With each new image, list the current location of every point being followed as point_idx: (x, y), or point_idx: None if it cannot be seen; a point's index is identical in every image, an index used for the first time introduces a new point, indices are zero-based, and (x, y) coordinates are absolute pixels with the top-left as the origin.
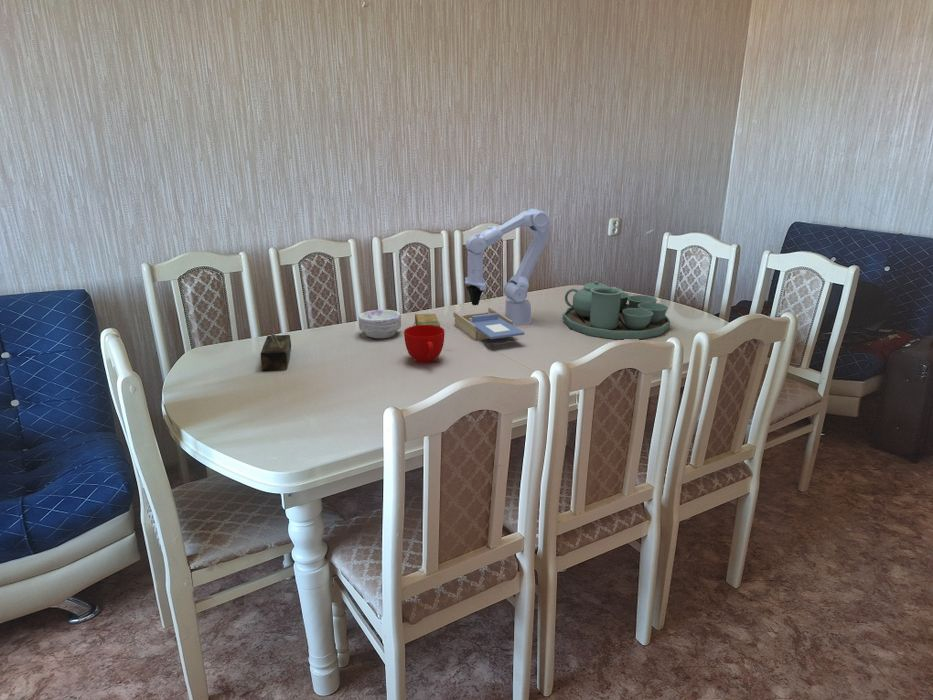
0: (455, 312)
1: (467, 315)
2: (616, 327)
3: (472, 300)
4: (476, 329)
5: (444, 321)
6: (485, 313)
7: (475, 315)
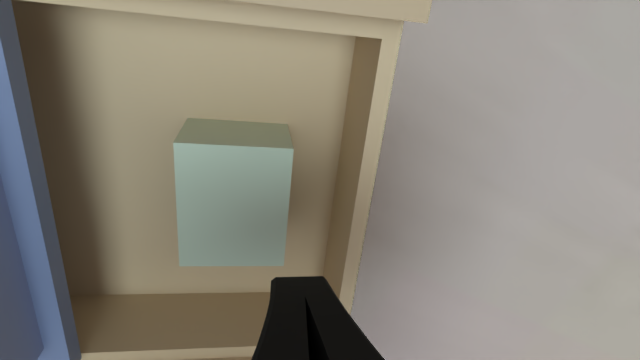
0: (393, 13)
1: (359, 167)
2: None
3: (279, 324)
4: (148, 133)
5: (550, 3)
6: None
7: (345, 240)
